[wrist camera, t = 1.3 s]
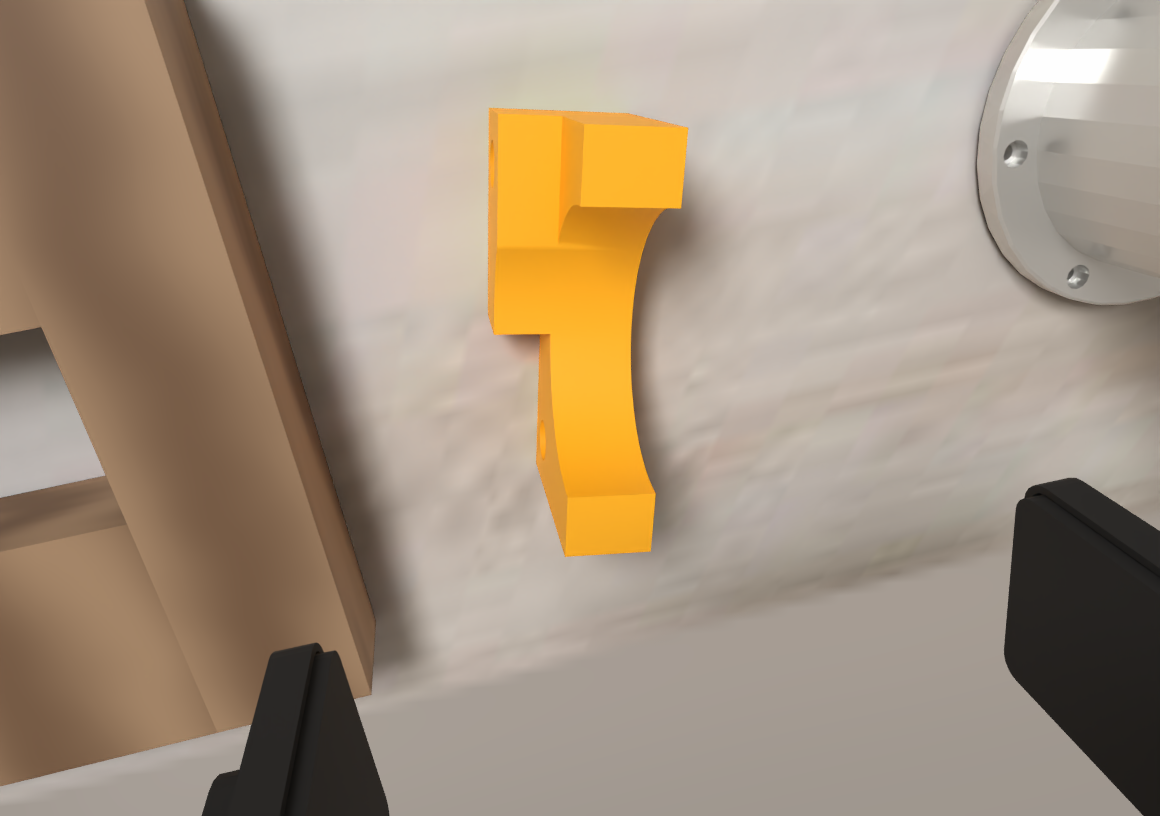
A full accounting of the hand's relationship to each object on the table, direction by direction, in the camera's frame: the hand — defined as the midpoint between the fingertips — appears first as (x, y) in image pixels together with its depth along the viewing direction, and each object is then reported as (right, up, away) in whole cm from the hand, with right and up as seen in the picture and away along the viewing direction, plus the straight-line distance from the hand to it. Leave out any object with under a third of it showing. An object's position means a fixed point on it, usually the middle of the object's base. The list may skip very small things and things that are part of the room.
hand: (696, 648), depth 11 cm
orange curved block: (-3, +7, +17) cm, 19 cm away
